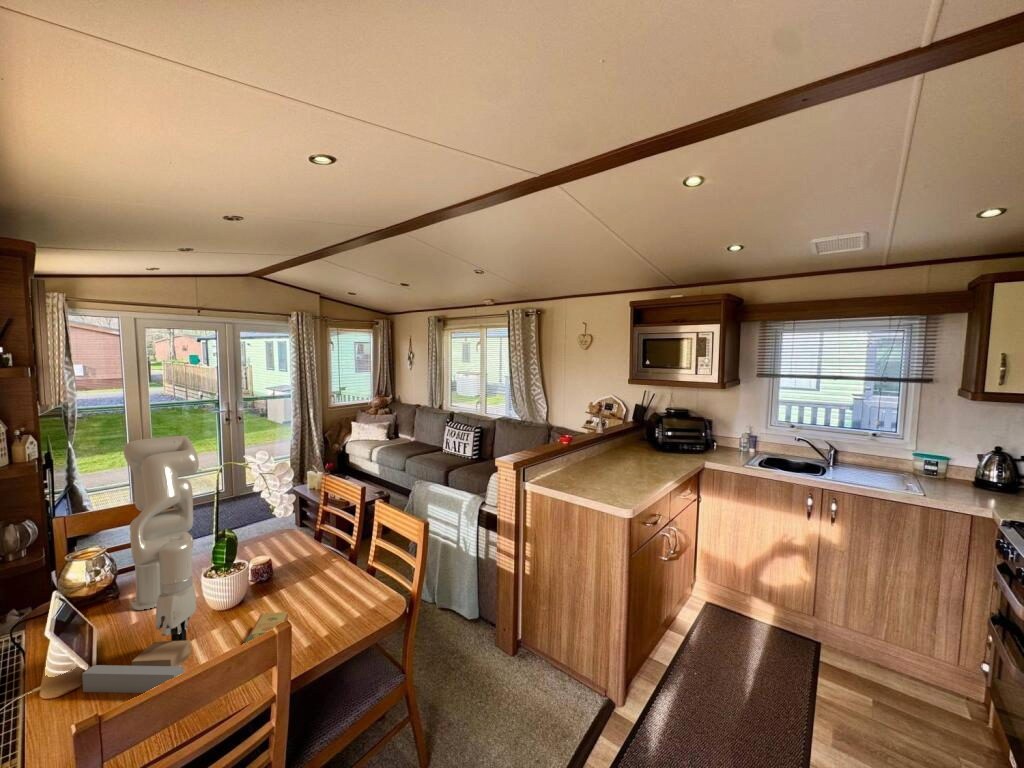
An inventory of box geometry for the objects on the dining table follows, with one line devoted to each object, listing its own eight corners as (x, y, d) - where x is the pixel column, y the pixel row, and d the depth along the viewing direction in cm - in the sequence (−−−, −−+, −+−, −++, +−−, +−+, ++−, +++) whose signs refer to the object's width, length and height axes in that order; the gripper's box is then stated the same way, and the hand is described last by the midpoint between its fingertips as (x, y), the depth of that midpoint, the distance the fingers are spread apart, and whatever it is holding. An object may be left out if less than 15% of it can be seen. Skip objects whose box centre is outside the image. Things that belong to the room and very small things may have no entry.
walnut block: (154, 656, 124) (154, 641, 123) (191, 655, 125) (190, 640, 124) (132, 677, 116) (131, 661, 116) (171, 675, 117) (170, 659, 116)
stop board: (94, 683, 113) (93, 665, 113) (184, 684, 113) (183, 666, 112) (83, 692, 110) (82, 673, 110) (175, 693, 110) (174, 674, 110)
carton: (288, 623, 140) (288, 610, 140) (273, 656, 124) (273, 642, 124) (260, 626, 138) (260, 613, 138) (241, 660, 122) (241, 646, 122)
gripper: (183, 571, 133) (185, 628, 134) (141, 598, 118) (144, 662, 119) (207, 571, 133) (209, 628, 134) (168, 598, 118) (171, 662, 119)
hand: (179, 644), depth 126 cm, fingers closed
